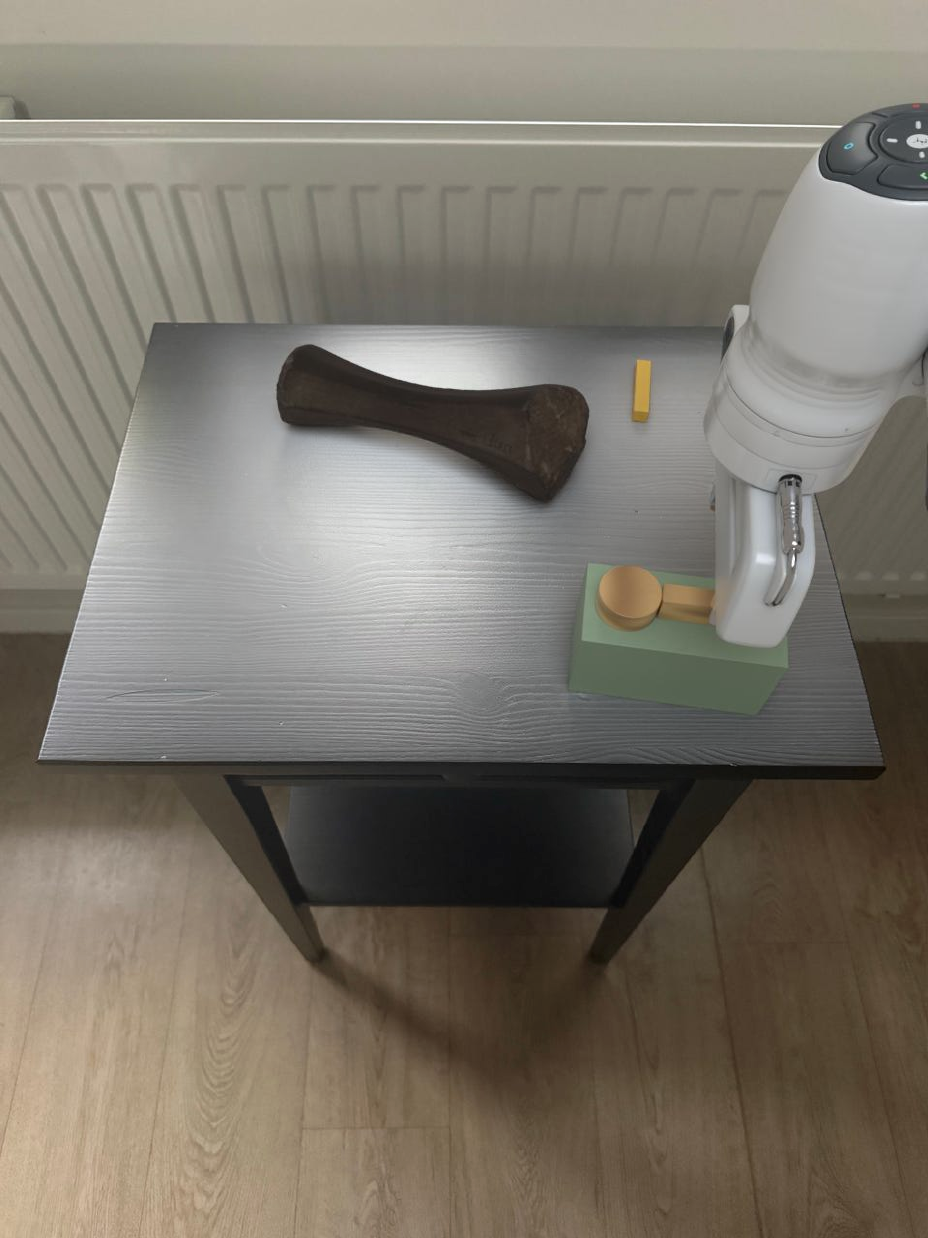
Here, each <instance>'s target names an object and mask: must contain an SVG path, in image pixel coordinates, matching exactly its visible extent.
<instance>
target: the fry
mask: <svg viewBox="0 0 928 1238" xmlns="http://www.w3.org/2000/svg"><path fill="white" fill-rule="evenodd" d="M651 372H652V361H651V360H647V359H646V360H645V359H636V363H635V367H634V376H633V391H632V408H631V409H632V410H631V421H632V422H638V423H647V421H648V417H649V413H650V398H651V397H650V394H651V377H652V376H651Z"/></svg>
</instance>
